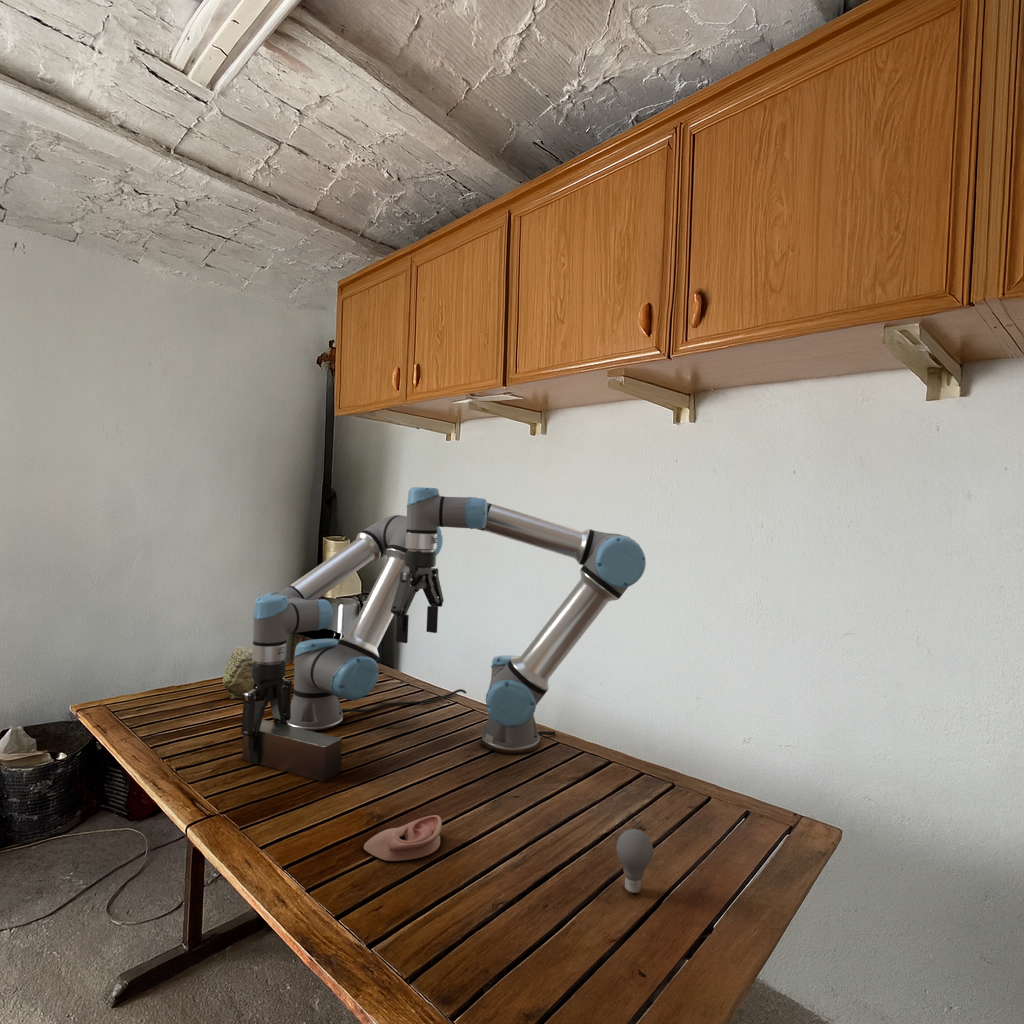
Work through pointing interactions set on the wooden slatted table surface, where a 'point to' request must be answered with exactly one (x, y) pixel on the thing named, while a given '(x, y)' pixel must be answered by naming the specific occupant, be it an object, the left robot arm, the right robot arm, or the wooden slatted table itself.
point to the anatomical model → (407, 840)
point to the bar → (297, 751)
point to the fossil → (239, 672)
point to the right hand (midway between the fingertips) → (417, 637)
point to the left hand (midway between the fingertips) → (265, 757)
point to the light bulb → (634, 857)
